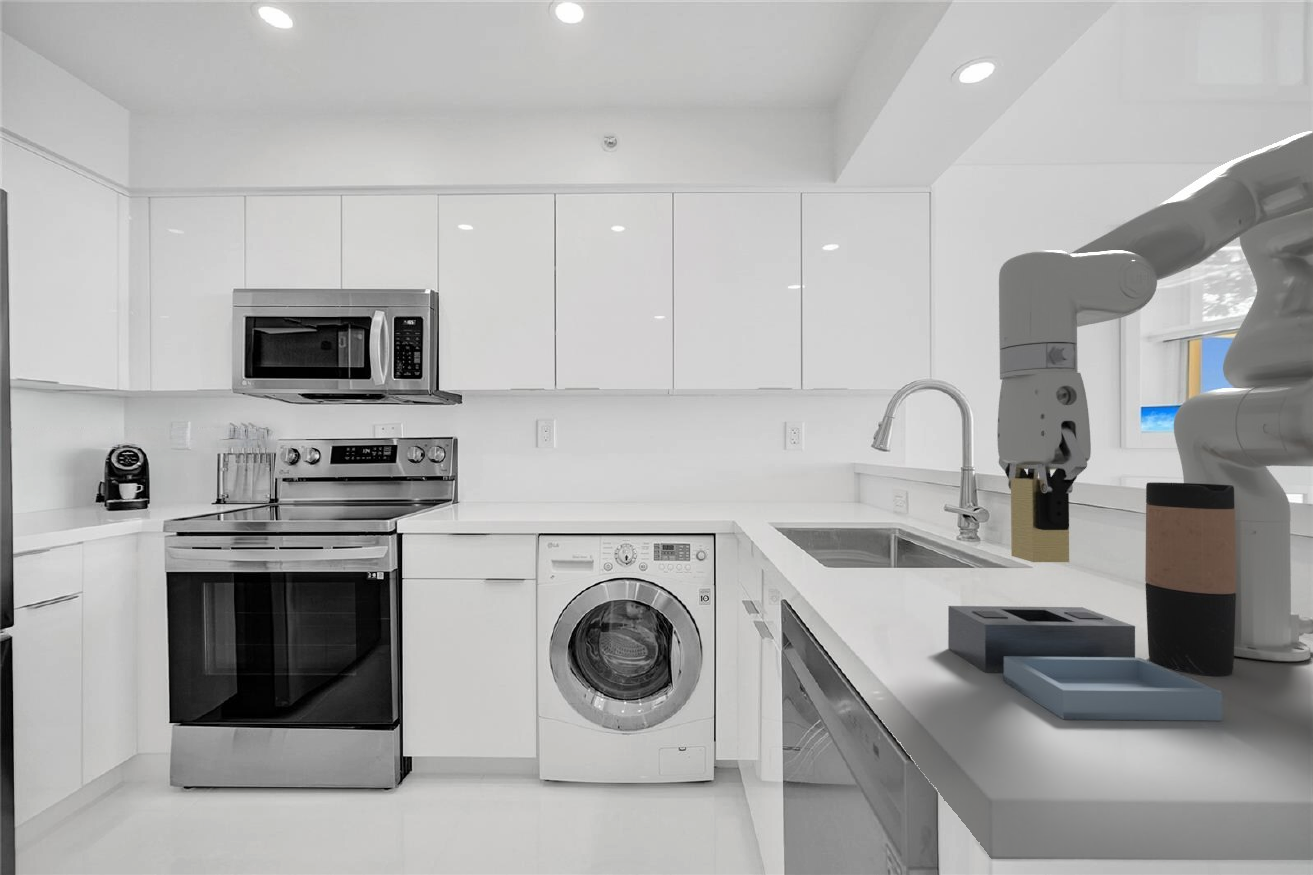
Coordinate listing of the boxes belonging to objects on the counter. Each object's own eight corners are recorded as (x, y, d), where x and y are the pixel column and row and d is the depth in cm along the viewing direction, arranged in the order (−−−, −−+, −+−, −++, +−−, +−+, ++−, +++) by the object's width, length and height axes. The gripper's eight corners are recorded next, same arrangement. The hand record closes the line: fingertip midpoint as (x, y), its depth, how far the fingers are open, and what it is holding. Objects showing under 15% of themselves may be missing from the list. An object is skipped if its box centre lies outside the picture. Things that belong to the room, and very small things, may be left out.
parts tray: (1139, 682, 63) (1139, 657, 63) (1222, 720, 54) (1221, 691, 54) (1003, 681, 63) (1003, 656, 63) (1063, 719, 54) (1063, 690, 54)
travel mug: (1151, 649, 74) (1150, 481, 75) (1238, 665, 69) (1237, 484, 69) (1140, 664, 69) (1139, 483, 70) (1234, 683, 64) (1233, 486, 64)
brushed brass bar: (1045, 555, 72) (1044, 478, 72) (1069, 562, 68) (1068, 479, 68) (1011, 556, 72) (1010, 478, 72) (1033, 562, 68) (1032, 479, 68)
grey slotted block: (1082, 649, 74) (1082, 606, 74) (1135, 673, 66) (1135, 625, 66) (948, 648, 74) (948, 605, 74) (985, 672, 66) (985, 623, 66)
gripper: (1127, 353, 62) (1129, 537, 62) (1025, 373, 79) (1026, 518, 79) (1053, 353, 62) (1055, 537, 62) (966, 373, 79) (967, 518, 78)
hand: (1039, 525), depth 70 cm, fingers closed on brushed brass bar, 4 cm apart
